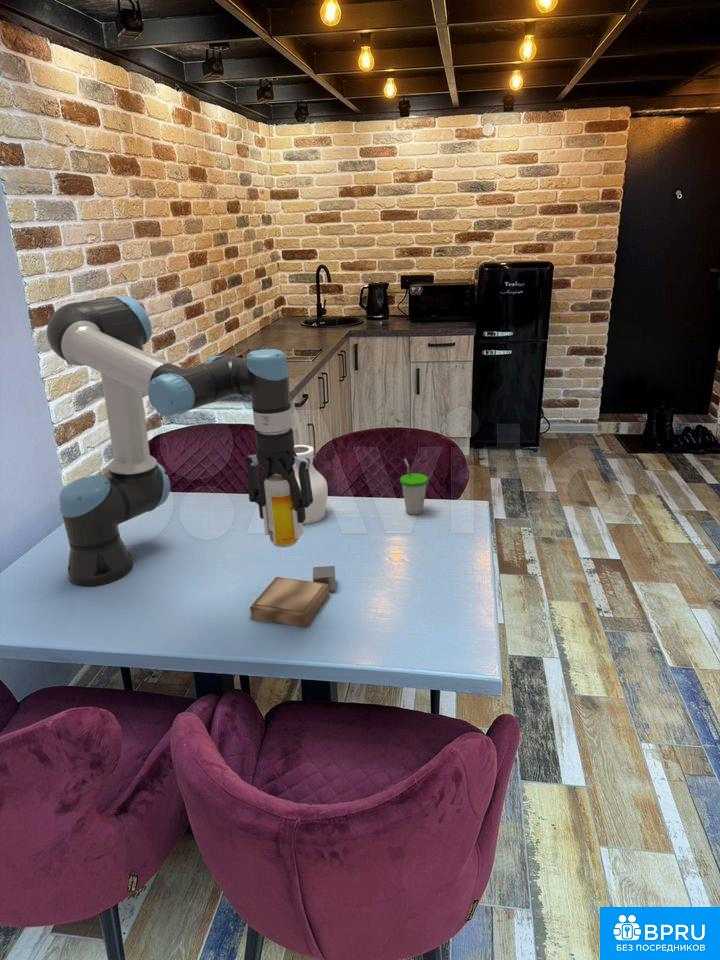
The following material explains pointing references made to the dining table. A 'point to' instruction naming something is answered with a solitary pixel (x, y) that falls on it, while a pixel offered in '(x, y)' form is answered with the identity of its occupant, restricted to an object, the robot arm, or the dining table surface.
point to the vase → (312, 486)
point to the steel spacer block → (325, 576)
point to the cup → (414, 491)
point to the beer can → (279, 511)
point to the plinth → (290, 602)
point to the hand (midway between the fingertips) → (284, 533)
